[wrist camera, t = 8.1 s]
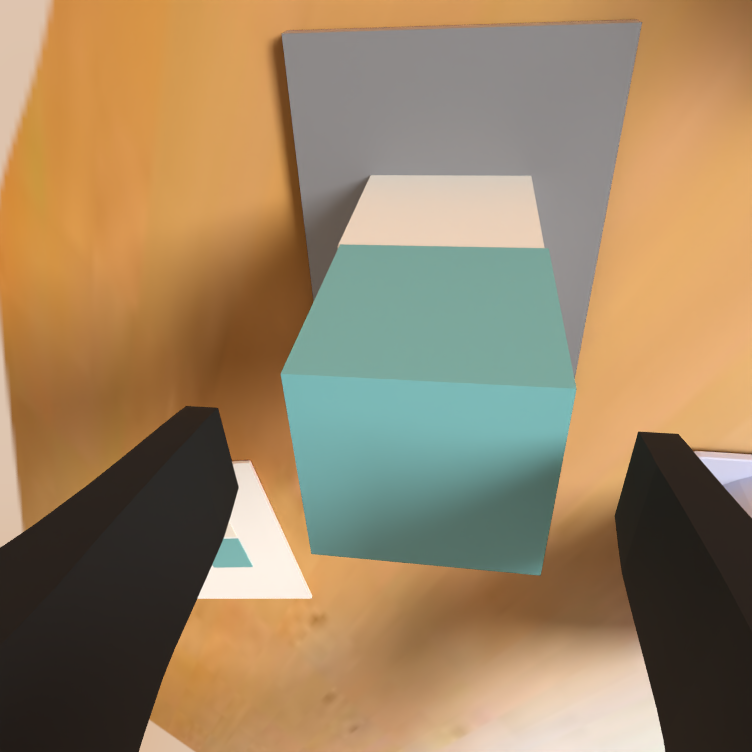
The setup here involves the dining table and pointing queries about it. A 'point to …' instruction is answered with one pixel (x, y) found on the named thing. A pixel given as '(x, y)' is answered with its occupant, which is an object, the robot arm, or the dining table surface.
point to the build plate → (466, 125)
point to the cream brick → (446, 212)
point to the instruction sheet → (253, 549)
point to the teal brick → (432, 406)
